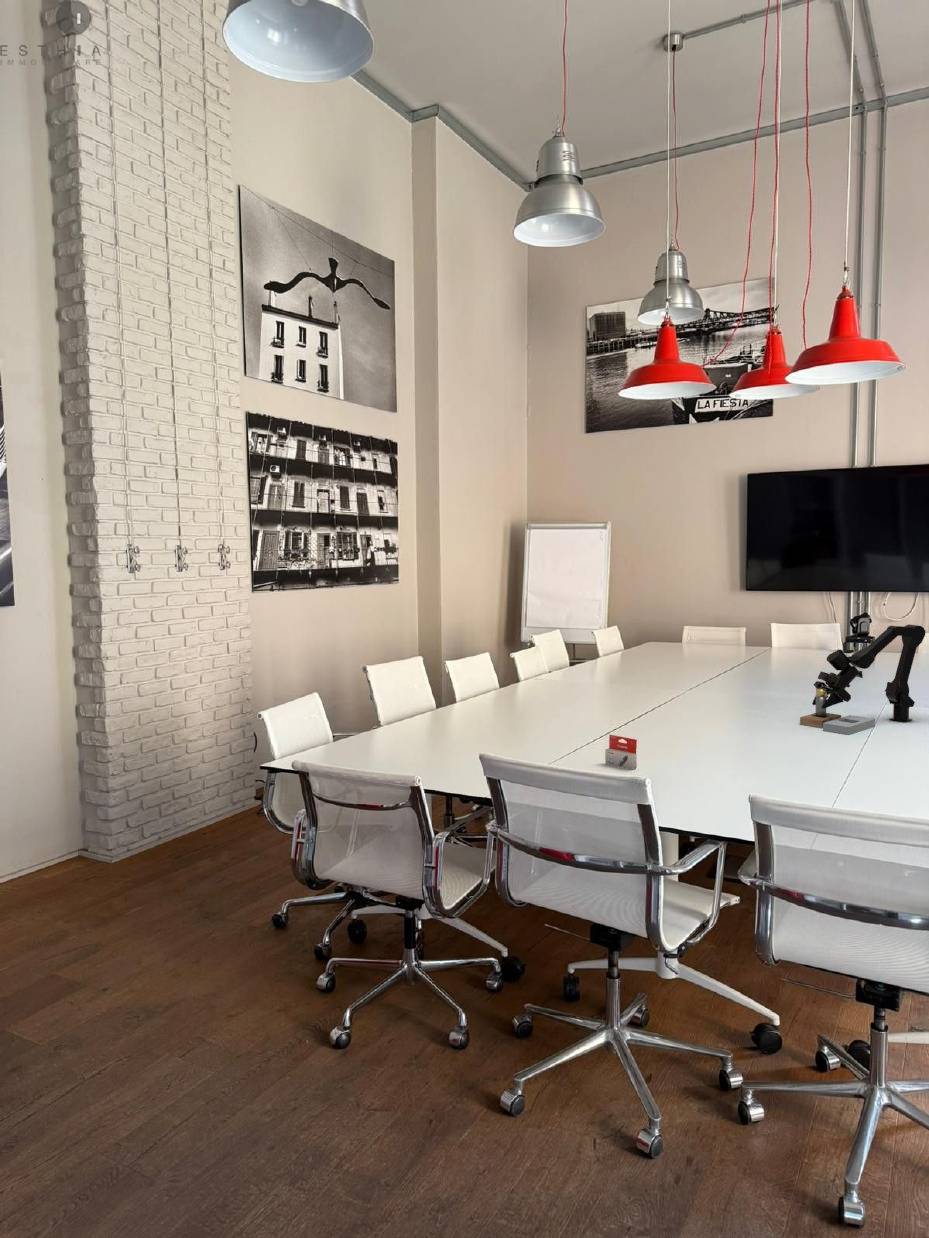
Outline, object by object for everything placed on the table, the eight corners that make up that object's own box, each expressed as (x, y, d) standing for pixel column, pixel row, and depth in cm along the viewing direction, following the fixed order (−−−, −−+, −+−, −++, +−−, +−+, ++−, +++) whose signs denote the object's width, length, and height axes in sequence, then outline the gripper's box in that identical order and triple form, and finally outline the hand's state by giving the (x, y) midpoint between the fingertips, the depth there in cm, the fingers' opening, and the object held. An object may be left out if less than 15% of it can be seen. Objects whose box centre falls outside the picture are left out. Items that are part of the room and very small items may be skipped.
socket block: (819, 718, 339) (819, 711, 339) (841, 722, 332) (841, 714, 332) (799, 724, 329) (800, 717, 329) (821, 728, 322) (821, 720, 322)
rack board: (849, 722, 332) (849, 715, 331) (874, 726, 324) (875, 718, 324) (822, 730, 318) (823, 723, 317) (848, 734, 310) (848, 727, 310)
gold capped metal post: (818, 721, 333) (819, 687, 332) (827, 723, 330) (828, 689, 329) (813, 723, 331) (814, 689, 330) (823, 724, 328) (823, 690, 327)
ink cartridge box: (632, 770, 265) (633, 740, 264) (604, 764, 273) (604, 735, 272) (637, 768, 267) (637, 739, 266) (609, 762, 275) (609, 734, 274)
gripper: (818, 661, 338) (792, 688, 338) (844, 667, 320) (817, 696, 319) (836, 679, 340) (810, 707, 339) (862, 687, 321) (835, 715, 321)
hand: (817, 706), depth 330 cm, fingers open, 7 cm apart
